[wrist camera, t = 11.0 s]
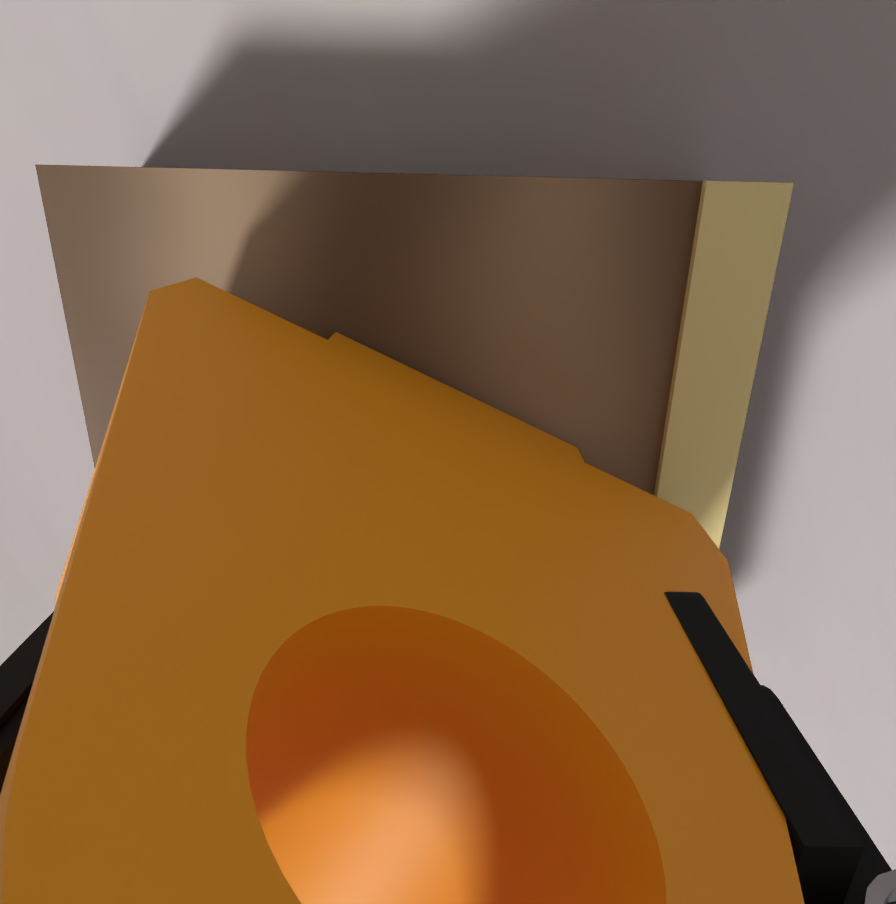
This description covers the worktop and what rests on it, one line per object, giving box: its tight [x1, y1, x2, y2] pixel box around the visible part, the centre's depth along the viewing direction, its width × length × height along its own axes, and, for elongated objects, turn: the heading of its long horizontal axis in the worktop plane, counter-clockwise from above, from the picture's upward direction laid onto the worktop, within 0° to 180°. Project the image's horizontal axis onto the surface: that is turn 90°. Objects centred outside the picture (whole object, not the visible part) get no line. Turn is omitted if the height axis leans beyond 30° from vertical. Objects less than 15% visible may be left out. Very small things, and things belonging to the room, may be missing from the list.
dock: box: [36, 165, 794, 548], centre depth 16 cm, size 14×14×4 cm
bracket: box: [0, 277, 805, 904], centre depth 9 cm, size 11×7×12 cm, turn 64°
